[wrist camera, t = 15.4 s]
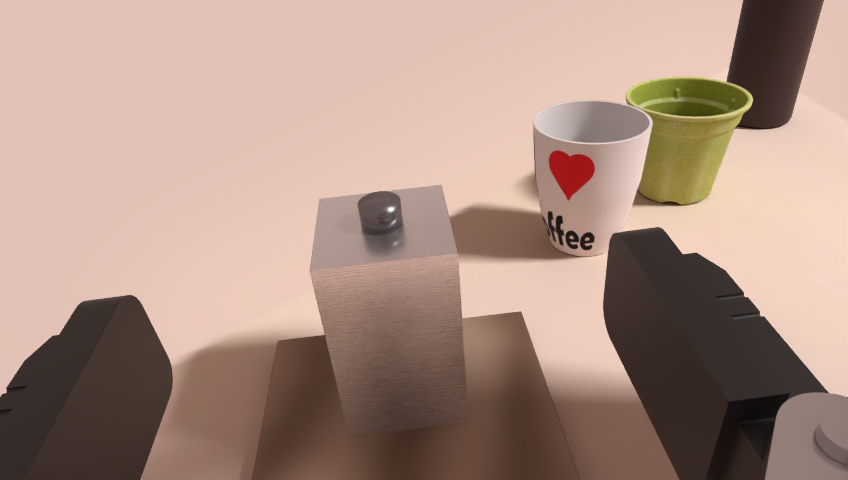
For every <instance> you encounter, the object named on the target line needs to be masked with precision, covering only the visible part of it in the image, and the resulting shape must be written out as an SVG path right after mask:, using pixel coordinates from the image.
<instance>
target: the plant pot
mask: <svg viewBox="0 0 848 480" xmlns="http://www.w3.org/2000/svg"><path fill="white" fill-rule="evenodd" d="M626 101H627V104H628V105H630V106H633V107H636V108H638V109H640V110H642V111H644V112H645V113H647V114H648V115H649V116H650V117H651V119H652V121H653V125H652V130H651V134H650V139H649V144H648V148H647V153H646V158H645V163H644V167H643V172H642V177H641V180H640V183H639V186H638V190H639V192H640V193H641V194H643V195H644V196H646V197H647V198H649V199H652V200H654V201H657V202H666V201H673V202H676V203H678V204H691V203H695V202H698V201H701V200H703V199H705V198H706V197H707V196H708V195H709V194H710V191H711V189H712V186H713V183H714V180H715V178H716V175H717V172H718V170H719V167H720V165H721V162H722V159H723V157H724V154H725V152H726V149H727V146H728V144H729V141H730V139H731V136H732V133H733V131H734V128H735V127H736V126H737V125H738V124H739V122H740V120H741V118H742V115H743V113H745V112H746V111H747V110H749V108H750V107H751V105H752V102H753V98H752V95H751V94H750V93H749V92H748V91H747V90H745V89H743V88H742V87H739V86H737V85H735V84H731V83H728V82H724V81H720V80H715V79H707V78H698V77H672V78H659V79H653V80H649V81H645V82H642V83H639V84H637V85H635V86H633V87H631V88H630V89H629V90H628V92H627V93H626Z"/></svg>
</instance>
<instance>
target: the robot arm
mask: <svg viewBox="0 0 848 480" xmlns="http://www.w3.org/2000/svg"><path fill="white" fill-rule="evenodd" d="M603 311H604V319H605V324H606V328H607V331H608V334H609V337H610V339H611V341H612V343H613V345H614V347H615V349H616V351H617V353H618V355H619V357H620V359H621V361H622V364H623V366H624V368H625V370H626V372H627V374H628V376H629V378H630V380H631V382H632V384H633V386H634V388H635V390H636V392H637V394H638V396H639V398H640V400H641V402H642V404H643V406H644V408H645V410H646V412H647V414H648V416H649V418H650V420H651V422H652V424H653V426H654V428H655V430H656V432H657V434H658V436H659V439H660V441H661V443H662V445H663V447H664V449H665V451H666V453H667V455H668V457H669V459H670V461H671V463H672V465H673V467H674V469H675V471H676V473H677V475H678V477H679V479H680V480H848V397H844V396H841V395H837V394H830V393H828V391H827V390H826V389H825V388H824V387H823V386H822V385H821V383H820V382H819V381H818V380H817V379H816V378H815V376H814V375H813V374H812V373H811V372H810V370H809V369H808V368H807V367H806V366H805V364H804V363H803V362H802V361H801V360H800V359H799V357H798V356H797V355H796V354H795V353H794V351H793V350H792V349H791V348H790V347H789V346H788V344H787V343H786V342H785V341H784V340H783V338H782V337H781V336H780V335H779V334H778V332H777V331H776V330H775V329H774V328H773V327H772V325H771V324H770V323H769V322H768V321H767V319H766V318H765V317H764V316H763V317H761V316H760V311H759V310H758V309H757V308H756V306H755V305H754V304H753V303H752V302H751V300H750V299H749V298H748V297H744V292H743V291H742V290H741V289H740V287H739V286H738V285H737V284H736V283H735V282H734V280H733V279H732V278H731V277H730V276H729V274H728V273H727V272H726V271H725V270H724V269H722V268H720V267H719V266H717V265H716V264H714V263H712V262H711V261H709V260H707V259H706V258H704V257H702V256H701V255H699V254H698V253H690V254H682V253H681V252H680V250H679V249H678V248H677V246H676V245H675V244H674V242H673V241H672V240H671V239H670V237H669V236H668V235H667V233H666V232H665V231H664V230H663V229H662V228H659V227H656V228H648V229H641V230H633V231H625V232H618V233H614V234H612V236H611V238H610V242H609V249H608V259H607V270H606V280H605V290H604V300H603ZM172 382H173V377H172V368H171V363H170V360H169V358H168V356H167V354H166V352H165V350H164V348H163V346H162V344H161V342H160V340H159V338H158V336H157V334H156V332H155V330H154V328H153V326H152V324H151V322H150V320H149V318H148V316H147V314H146V312H145V310H144V308H143V306H142V304H141V303H140V301H139V300H138V299H137V298H136V297H134V296H132V295H126V296H119V297H112V298H104V299H96V300H89V301H84V302H82V303H80V304H79V305H78V306H77V308H76V309H75V311H74V312H73V314H72V315H71V317H70V319H69V320H68V322H67V323H66V325H65V326H64V328H63V330H62V331H61V333H60V334H59V335H56V336H52V337H51V338H50V339H49V340H48V341H46V342H45V343H44V344H43V345H42V346H41V347H40V348H39V349H37V350H36V351H35V352H34V353H33V354H32V355H31V356H30V357H28V358H27V359H26V360H25V361H24V363H23V364H22V365H21V367H20V368H19V370H18V371H17V373H16V374H15V376H14V377H13V379H12V381H11V382H10V383H9V385H8V386H7V388H6V389H7V393H5V394H2V396H1V397H0V480H140V479H141V476H142V473H143V470H144V467H145V465H146V462H147V459H148V456H149V454H150V451H151V448H152V445H153V442H154V440H155V437H156V434H157V431H158V428H159V426H160V423H161V420H162V417H163V415H164V412H165V409H166V406H167V403H168V401H169V398H170V395H171V391H172Z"/></svg>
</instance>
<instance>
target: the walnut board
mask: <svg viewBox="0 0 848 480" xmlns="http://www.w3.org/2000/svg"><path fill="white" fill-rule="evenodd" d="M462 326H463V342H464V358H465V374H466V390H467V405H468V421H469V422H464V423H456V424H448V425H440V426H432V427H425V428H417V429H409V430H401V431H393V432H385V433H377V434H369V435H361V436H353V437H349V433H348V429H347V425H346V421H345V416H344V412H343V408H342V404H341V400H340V396H339V391H338V387H337V383H336V379H335V375H334V371H333V366H332V362H331V358H330V354H329V350H328V345H327V341H326V337H325V335H322V336H314V337H305V338H297V339H289V340H281V341H278V343H277V349H276V354H275V360H274V365H273V370H272V376H271V381H270V386H269V392H268V397H267V403H266V408H265V413H264V419H263V424H262V430H261V435H260V440H259V446H258V451H257V456H256V462H255V467H254V473H253V478H252V480H580V479H579V476H578V473H577V470H576V467H575V465H574V462H573V459H572V456H571V453H570V450H569V447H568V445H567V442H566V439H565V436H564V433H563V430H562V427H561V424H560V422H559V419H558V416H557V413H556V410H555V407H554V404H553V402H552V399H551V396H550V393H549V390H548V387H547V384H546V381H545V379H544V376H543V373H542V370H541V367H540V364H539V361H538V359H537V356H536V353H535V350H534V347H533V344H532V341H531V338H530V336H529V333H528V330H527V327H526V324H525V321H524V318H523V316H522V313H521V312H513V313H504V314H496V315H488V316H479V317H471V318H463V319H462Z"/></svg>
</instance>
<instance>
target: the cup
mask: <svg viewBox="0 0 848 480" xmlns="http://www.w3.org/2000/svg"><path fill="white" fill-rule="evenodd" d="M652 125H653V121H652V119H651V117H650V116H649V115H648V114H647V113H645V112H644V111H642V110H640V109H638V108H636V107H633V106H630V105H626V104H622V103H617V102H611V101H600V100H582V101H571V102H564V103H560V104H556V105H552V106H549V107H547V108H545V109H543V110H541V111H540V112H538V113H537V114H536V115H535V117H534V119H533V134H534V157H535V158H534V159H535V177H536V183H537V189H538V196H539V202H540V209H541V214H542V217H543V220H544V223H545V226H546V230H547V233H548V236H549V239H550V242H551V243H552V245H553V246H554V247H555V248H557V249H558V250H560V251H562V252H564V253H567V254H570V255H575V256H596V255H600V254H603V253H605V252H607V251H608V249H609V242H610V238H611V236H612V234H614V233H618V232H621V230H622V228H623V226H624V225H625V223H626V221H627V219H628V216H629V213H630V210H631V207H632V204H633V201H634V198H635V195H636V192H637V189H638V186H639V183H640V180H641V177H642V172H643V167H644V163H645V158H646V153H647V148H648V144H649V139H650V134H651V130H652Z"/></svg>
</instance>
